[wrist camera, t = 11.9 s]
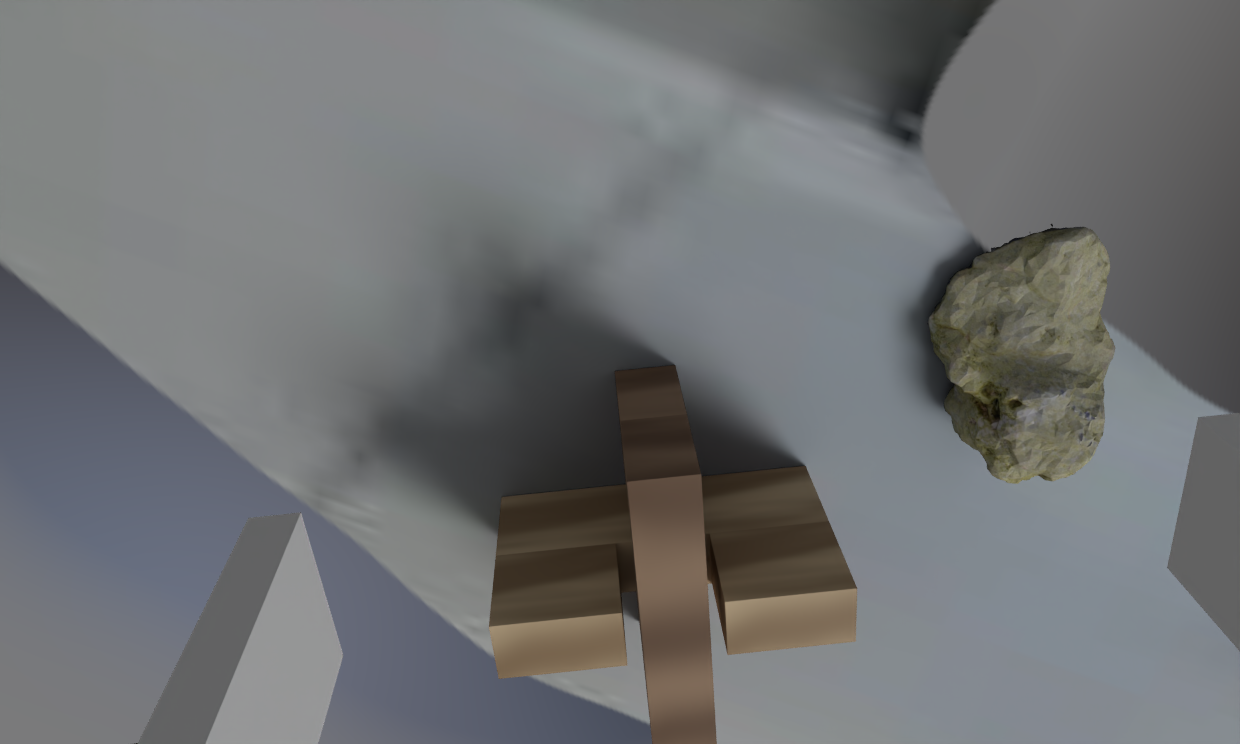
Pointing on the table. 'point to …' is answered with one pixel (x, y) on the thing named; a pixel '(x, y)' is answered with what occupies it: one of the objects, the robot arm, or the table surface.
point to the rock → (1028, 353)
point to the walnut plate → (668, 554)
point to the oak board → (604, 568)
